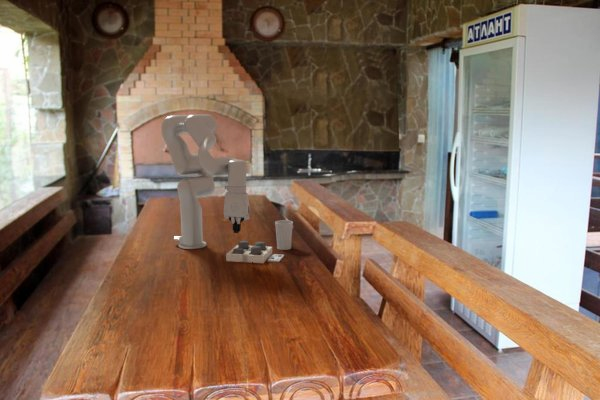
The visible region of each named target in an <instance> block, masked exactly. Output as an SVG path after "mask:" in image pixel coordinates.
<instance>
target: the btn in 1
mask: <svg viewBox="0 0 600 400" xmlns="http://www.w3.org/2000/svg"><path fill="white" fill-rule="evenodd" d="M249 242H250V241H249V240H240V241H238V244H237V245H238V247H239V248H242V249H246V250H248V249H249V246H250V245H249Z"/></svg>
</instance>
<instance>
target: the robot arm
mask: <svg viewBox="0 0 600 400" xmlns="http://www.w3.org/2000/svg"><path fill="white" fill-rule="evenodd" d="M160 128H161V136H162V138H163V141H164V142H165V145H166V146H167V148H168V151H169V156H170V159H171V161H172V165H173V168H174V171H175V173H176V174H177V175H178V176H180V177H182V176H190V177H185V178H182V179H180V180H179V181H178V184H177V187H176V189H177V194H178V200H179V208H180V209H179V210H180V229H181V235H180V236H178V235H175V236H173V241H174V242H179V243H178V248H179V249H183V250H184V249H185V250H195V249H196V250H197V249H203V248H205V247H206V246H207V242H206V241H204V237H203V208H202V205H201V203H200V201H199V198H204V197H209V196H211V195H213V194H214V192H215V188H216V187H215V182H214V181H215V180H214V177H221V176H227V185H224V189H225V190H227V191H226V192H225V195H224V201H223V215H224V216H223V217H224V219H227V220H229V221H230V222H231V224H232V231H233V234H238V233H240V232H241V227H242V226H241V225H242V223H243V221H249V219H250V201H249V200H250V199H249V194H248V192H247V162H246V160H244V159H238V158H235V157H233V156H223V157H213V156H212V154H211V153H210V152H209V150H211V149H212V148H213V147H214V146H215V145H216V143H217V137H216V135H215V134H214V132H215V130H216V129H217V121H216V119H215V117H214V116H213V115H211V114H209V113H201V114H199V113H197V114H174V115H170V116H169V115H168V116H167V117H165V118H164V119H163V120H162V122H161V127H160ZM187 134H189V136H190V137H191V138H192V140H193V142H195V144H196V145H197V147H198V151H197V153H191V152H190V149H189V147H188V144H187V142H186V140H184V138H183V137H181V136H180V135H187ZM194 175H195V176H194Z"/></svg>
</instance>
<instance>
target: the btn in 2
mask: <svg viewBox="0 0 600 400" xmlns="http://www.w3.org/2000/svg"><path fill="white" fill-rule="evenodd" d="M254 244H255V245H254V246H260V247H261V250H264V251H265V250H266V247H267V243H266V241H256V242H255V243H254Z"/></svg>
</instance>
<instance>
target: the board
mask: <svg viewBox="0 0 600 400" xmlns="http://www.w3.org/2000/svg"><path fill="white" fill-rule="evenodd" d="M252 246H253V245H249V249H248V250H246V249H244V253H243V254H233V249H236V248H239V247H238V244H236V245H235V246H234V247H233V248H232V249H231V250H229V251H228V252H227V253H226V254H225V259H226V260H225V261H226V262H237V263H252V262H253V263H255V264H265V262H266V261H268V259H269V258H270V257H271V256H272V254H273V246H266V250H265V251H264V250H261V255H251V247H252ZM253 263H252V264H253Z"/></svg>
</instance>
